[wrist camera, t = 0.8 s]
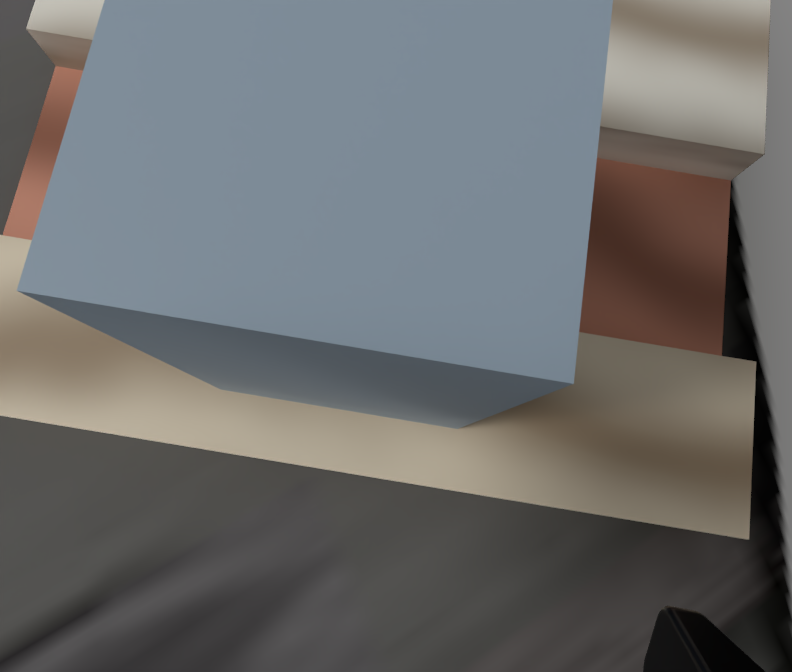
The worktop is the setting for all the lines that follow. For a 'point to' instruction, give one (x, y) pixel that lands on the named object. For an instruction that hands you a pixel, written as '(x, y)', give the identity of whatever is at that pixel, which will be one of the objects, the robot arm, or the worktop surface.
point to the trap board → (599, 324)
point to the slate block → (334, 197)
